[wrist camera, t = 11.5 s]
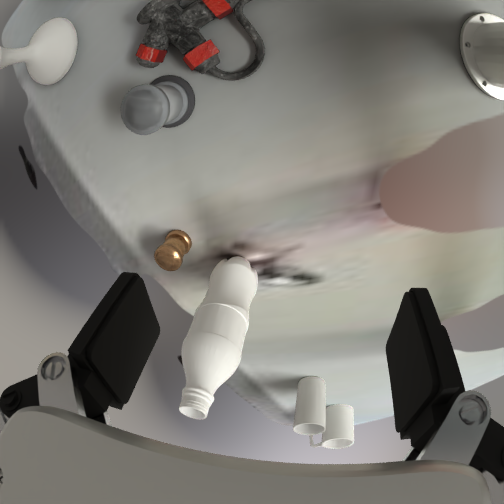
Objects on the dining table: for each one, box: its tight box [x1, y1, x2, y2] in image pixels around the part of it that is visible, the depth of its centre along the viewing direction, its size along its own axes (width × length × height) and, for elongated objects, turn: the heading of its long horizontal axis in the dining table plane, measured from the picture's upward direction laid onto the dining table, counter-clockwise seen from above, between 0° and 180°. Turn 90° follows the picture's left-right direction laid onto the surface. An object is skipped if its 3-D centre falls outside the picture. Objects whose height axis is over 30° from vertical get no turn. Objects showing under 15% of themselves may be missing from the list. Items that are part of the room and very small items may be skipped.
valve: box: [136, 0, 264, 80], centre depth 26 cm, size 6×26×15 cm
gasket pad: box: [151, 75, 195, 128], centre depth 34 cm, size 7×7×1 cm
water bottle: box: [179, 256, 258, 419], centre depth 38 cm, size 7×7×25 cm
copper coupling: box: [154, 230, 192, 271], centre depth 45 cm, size 4×4×5 cm
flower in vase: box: [0, 17, 78, 85], centre depth 20 cm, size 13×11×25 cm
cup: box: [309, 404, 354, 449], centre depth 66 cm, size 8×12×10 cm
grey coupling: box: [121, 81, 189, 135], centre depth 31 cm, size 6×6×7 cm
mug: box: [293, 376, 326, 435], centre depth 59 cm, size 10×7×12 cm, turn 35°
